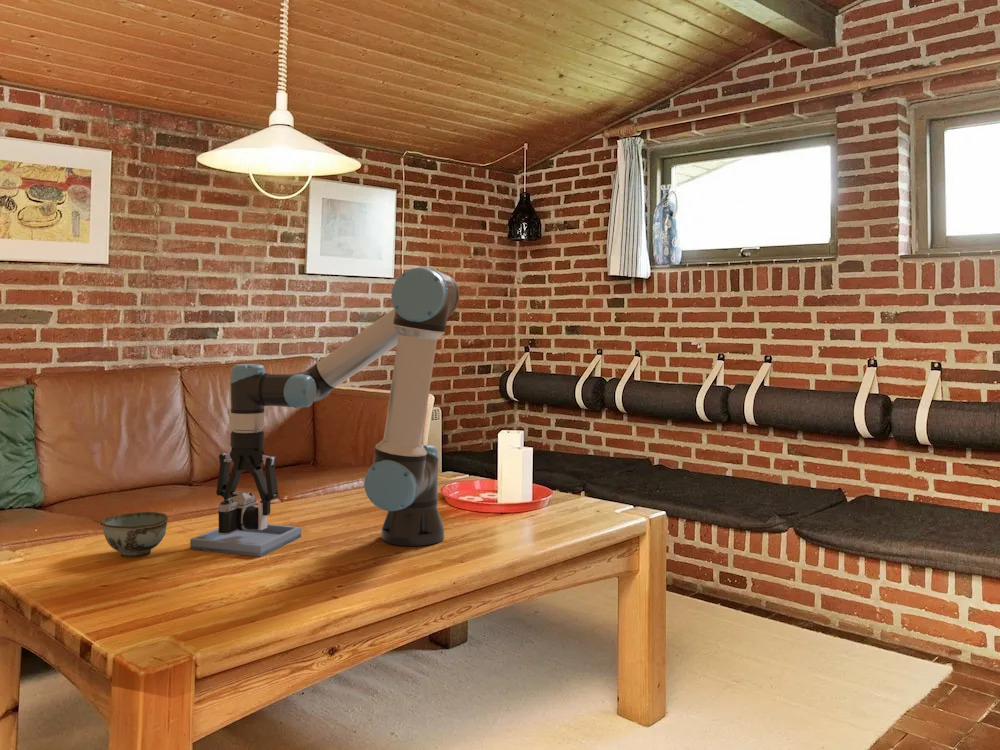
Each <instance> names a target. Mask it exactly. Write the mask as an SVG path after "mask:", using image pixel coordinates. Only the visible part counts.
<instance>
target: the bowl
mask: <svg viewBox="0 0 1000 750" xmlns="http://www.w3.org/2000/svg"><path fill="white" fill-rule="evenodd" d="M168 519H169V516H168V515H167V514H165V513H164V512H163V513H162V512H158V511H157V512H156V511H137V512H128V513H122V514H117V515H112V516H108V517H105V518H104V519H102V520H101V521H100V523H101V526H102V529H103V534H104V537H105V541H106V542H107V544H108V545H109V546H110V547H111V548H112V549H113V550H115V551H117V552H120V556H121V557H122V558H127V559H128V558H130V559H133V558H141V557H142V558H143V557H146V556H149V555H150V554H151V553H152V550H153V549H155V547H157V546H158V545H159V544H160V543H161V542H162V540H163V538H165V535H166V531H167V525H168Z"/></svg>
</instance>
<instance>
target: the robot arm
mask: <svg viewBox="0 0 1000 750" xmlns="http://www.w3.org/2000/svg"><path fill="white" fill-rule="evenodd" d="M390 297H391V304H392V306H393V309H391V310H389V312H387V313H386V314H384V315H382V317H380V318H379V319H377V320H375V321H374V322H373V323H372V324H370V325H368V326H367V327H366V328H365V329H363V330H361V331H360V332H359V333H357V334H356V335H355V336H353V337H352V338H350V339H349V340H347V341H346V342H344V343H343V344H342V345H340V346H339V347H338V348H336V349H335V350H333V351H332V352H331V353H329V354H327V355H326V356H325V357H323V358H322V359H320V360H319V361H317V362H316V363H315V364H313V365H312V366H310V367H309V368H308V369H306V370H305V371H301V372H295V373H267V372H266V369H265V366H264V365H263V364H256V363H239V364H234V365H233V366H232V367H231V368H230V369H231V370H230V382H229V385H230V421H229V424H230V426H229V427H230V430H232V431H231V432H230V441H229V442H230V447H231V450H230V451H229V452H225V453H220V454H219V455H218V458H219V459H218V460H219V469H218V477H217V486H216V492H215V494H216V495H217V496H220V497H222V498H223V501H225V500H227V499H231V497H232V496H233V493H234V492H235V493H236V490H237V487H238V484H239V481H240V478H241V476H242V473H243V472H244V471H247V472H249V473H250V475H251V476H252V477H253V481H254V483H255V486H256V489H257V491H258V495H259V498H260V501H258V505H257V507H258V530H263V529H265V528H267V524H268V515H271V501H273V500H275V499H278V498H279V490H278V481H277V473H276V461H277V457H276V456H275V455H272V456H270V455H266V454H265V452H264V448H265V447H264V446H265V432H264V430H263V429H264V428H265V407H269V406H270V407H282V408H283V407H284V408H285V407H287V408H293V409H294V408H295V409H298V408H309V407H311V406H312V405H313V403H314V402H315V403H316V402H319V401H322V400H324V399H325V398H327V397H328V396H329V395H330V393H331V392H332V391H333V390H334V389H335V388H337V387H338V386H339V385H341V384H342V383H343V382H345V381H347V380H348V379H350V378H351V377H353V376H354V375H355V374H357V373H358V372H360V371H362V370H363V369H364V368H366V367H367V366H368V365H370V364H372V363H373V362H375V361H376V360H378V359H379V358H380V357H382V356H384V355H385V354H386V353H388V352H389V351H391V350H392V349H394V348H395V347H396V350H395V359H394V362H393V363H394V364H393V372H392V379H391V385H390V392H389V398H388V406H387V412H386V418H385V426H384V432H383V439H382V440H381V441H379V442H378V443H377V444H375V447H374V453H373V461H372V465H371V466H370V467H369V468H368V470H367V471H366V474H365V476H364V482H363V486H364V491H365V494H366V497H367V498H368V499H369V501H370V502H371V503H372V504H373V505H374V506H376V507H377V508H379V509H380V510H383V511H386V515H385V518H384V522H383V525H382V527H381V540H382V541H383V542H384V543H386V544H389V545H395V546H405V547H419V546H420V547H421V546H429V545H434V544H437V543H440V542H442V541H443V540H444V539H445V528H444V525H443V521H442V517H441V515H440V510H439V507H438V488H439V487H438V482H439V481H438V480H439V479H438V478H439V477H438V476H439V474H438V472H439V471H438V470H439V459H440V458H439V454H438V448H437V447H436V446H435V445H431V444H423V437H424V436H423V435H424V429H425V425H426V424H425V422H426V416H427V411H428V410H427V409H428V403H429V395H430V388H431V382H432V376H433V369H434V362H435V357H436V356H435V355H436V350H437V343H438V339H439V338H441V337H442V336H444V334H445V333H446V329H447V323H448V322H447V321H448V318H449V317H450V316H452V315H453V314H454V312H455V311H456V309H457V308H458V306H459V303H460V290H459V287H458V284H457V282H456V281H455V280H454V279H453V277H452V276H450V275H449V274H448V273H446V272H444V271H441V270H436V269H434V268H431V267H430V268H429V267H421V266H420V267H415V268H414V267H413V268H410V269H407V270H406V271H404V272H403V273H401V274H400V275H399V276H398V277H397V279H396V280H395V282H394V283H393V285H392V289H391V296H390ZM231 461H232V462H233V465H232V468H231ZM262 462H263V465H264V469H263V465H262ZM230 470H231V473H230ZM264 474H265V475H264Z"/></svg>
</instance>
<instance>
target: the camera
mask: <svg viewBox="0 0 1000 750" xmlns="http://www.w3.org/2000/svg"><path fill="white" fill-rule="evenodd" d="M256 503H257V498H255V494H252V492H244V491H235V492H234V493H233V496H232V497H231V499H227V500H225V501H224V500H223V501H221V502H220V503H219V504H218V505H217V506H218V508H217V511H218V528H219V530H218V532H219V535H228V534H231V533H233V532H236V531H238V530H242V531H243V530H247V529H258V506H255V504H256Z"/></svg>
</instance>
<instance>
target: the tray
mask: <svg viewBox="0 0 1000 750" xmlns="http://www.w3.org/2000/svg"><path fill="white" fill-rule="evenodd" d="M218 530H219V527H217V528H215V529H213V530H210V531H208V532H205V533H202V534H199V535H197V536H195V537H193V538H190V539H189V540H190V544H189V545H190V546H189V547H190V550H191V551H192V550H193V551H199V552H200V551H201V552H210V553H211V552H212V553H219V554H220V553H221V554H230V555H231V554H232V555H241V556H250V557H260V558H261V557H263V556H265V555H267V554H269V553H271V552H273V551H275V550H277V549H279V548H281V547H284V546H286V545H288V544H290V543H292V542H294V541H297V540H298V539H300V538H301V537H302V527H301V526H292V525H281V524H273V523H272V524H271V523H270V524H269V523H267V528H265V529H263V530H258V529H247V530H243V531H242V530H238V531H236V532H233V533H231V534H228V535H219V532H218Z"/></svg>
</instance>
